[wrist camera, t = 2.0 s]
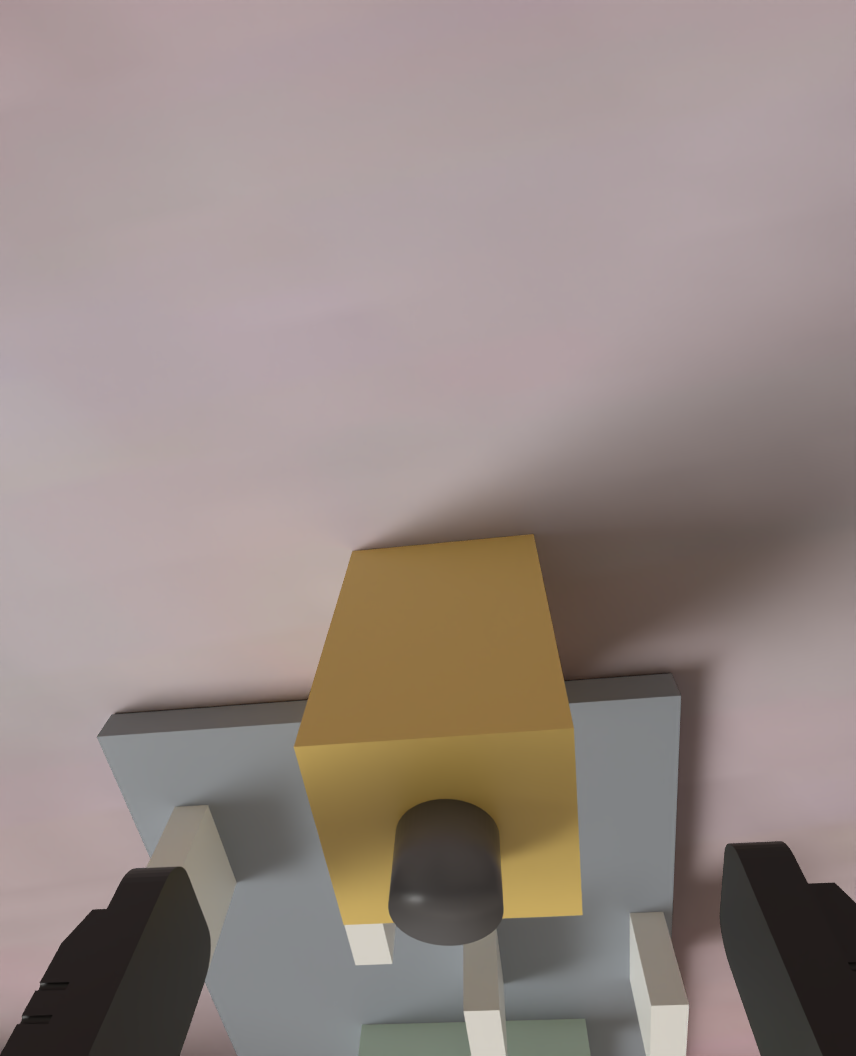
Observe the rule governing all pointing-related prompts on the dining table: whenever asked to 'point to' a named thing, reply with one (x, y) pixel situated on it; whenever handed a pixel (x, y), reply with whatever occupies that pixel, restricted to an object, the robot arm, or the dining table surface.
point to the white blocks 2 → (649, 977)
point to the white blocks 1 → (213, 882)
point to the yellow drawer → (444, 743)
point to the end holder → (443, 1048)
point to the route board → (418, 968)
